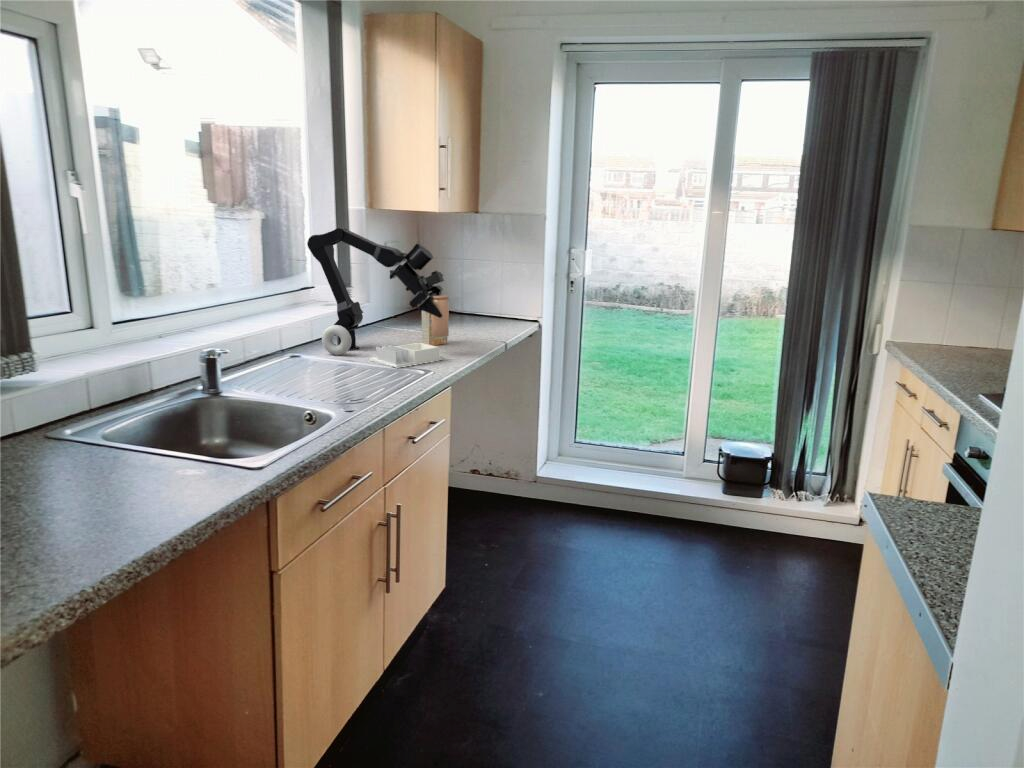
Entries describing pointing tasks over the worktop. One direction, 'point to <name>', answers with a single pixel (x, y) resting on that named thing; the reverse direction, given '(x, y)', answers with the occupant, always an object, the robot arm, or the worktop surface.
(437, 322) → the tumbler
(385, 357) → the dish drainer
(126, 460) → the worktop surface
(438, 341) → the supplement box
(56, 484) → the worktop surface
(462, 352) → the worktop surface
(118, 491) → the worktop surface
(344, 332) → the donut
